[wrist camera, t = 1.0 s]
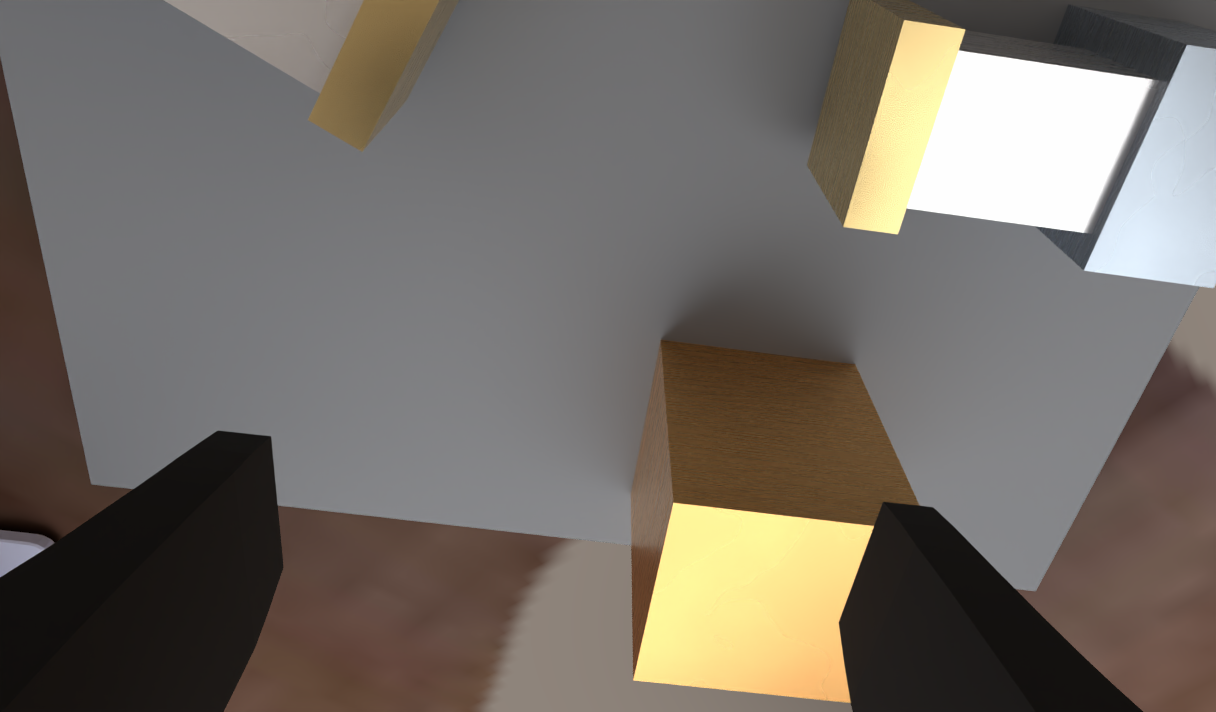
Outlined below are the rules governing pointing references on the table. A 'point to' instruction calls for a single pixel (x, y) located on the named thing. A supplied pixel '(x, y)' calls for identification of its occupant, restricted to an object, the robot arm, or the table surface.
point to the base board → (543, 264)
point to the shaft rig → (893, 117)
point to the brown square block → (753, 519)
